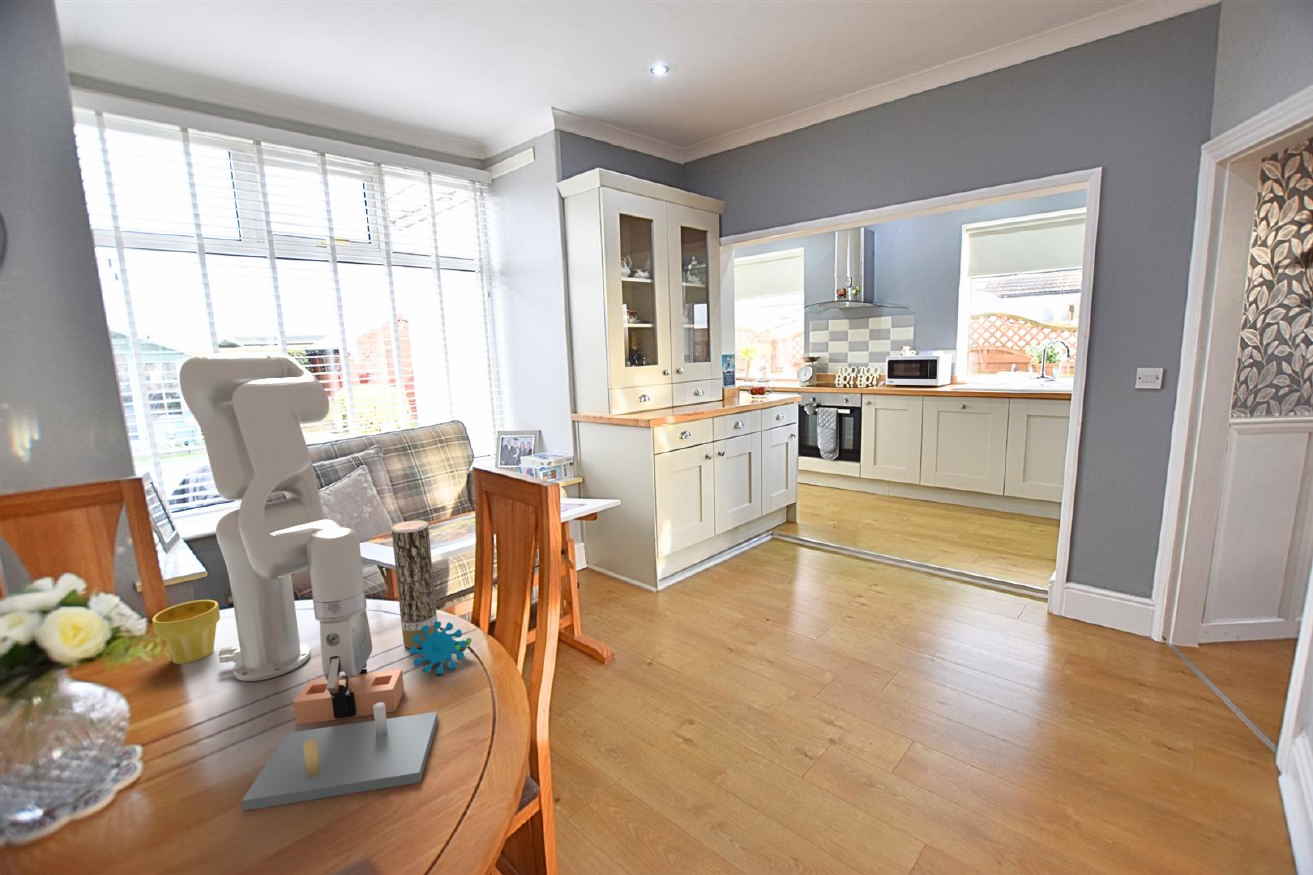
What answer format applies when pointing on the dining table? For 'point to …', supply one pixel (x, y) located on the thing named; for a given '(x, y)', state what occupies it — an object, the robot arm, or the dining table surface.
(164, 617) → the plant pot
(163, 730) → the dining table surface
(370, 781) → the slate board
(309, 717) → the holed bar
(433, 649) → the blue virus model
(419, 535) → the bark log
